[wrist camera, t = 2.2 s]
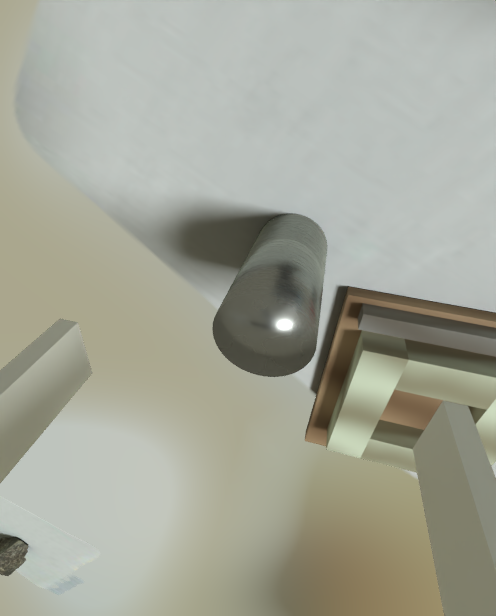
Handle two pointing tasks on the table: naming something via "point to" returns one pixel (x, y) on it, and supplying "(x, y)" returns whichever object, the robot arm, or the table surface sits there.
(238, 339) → the brushed metal cylinder
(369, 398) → the jig
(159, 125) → the table surface
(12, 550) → the stone
